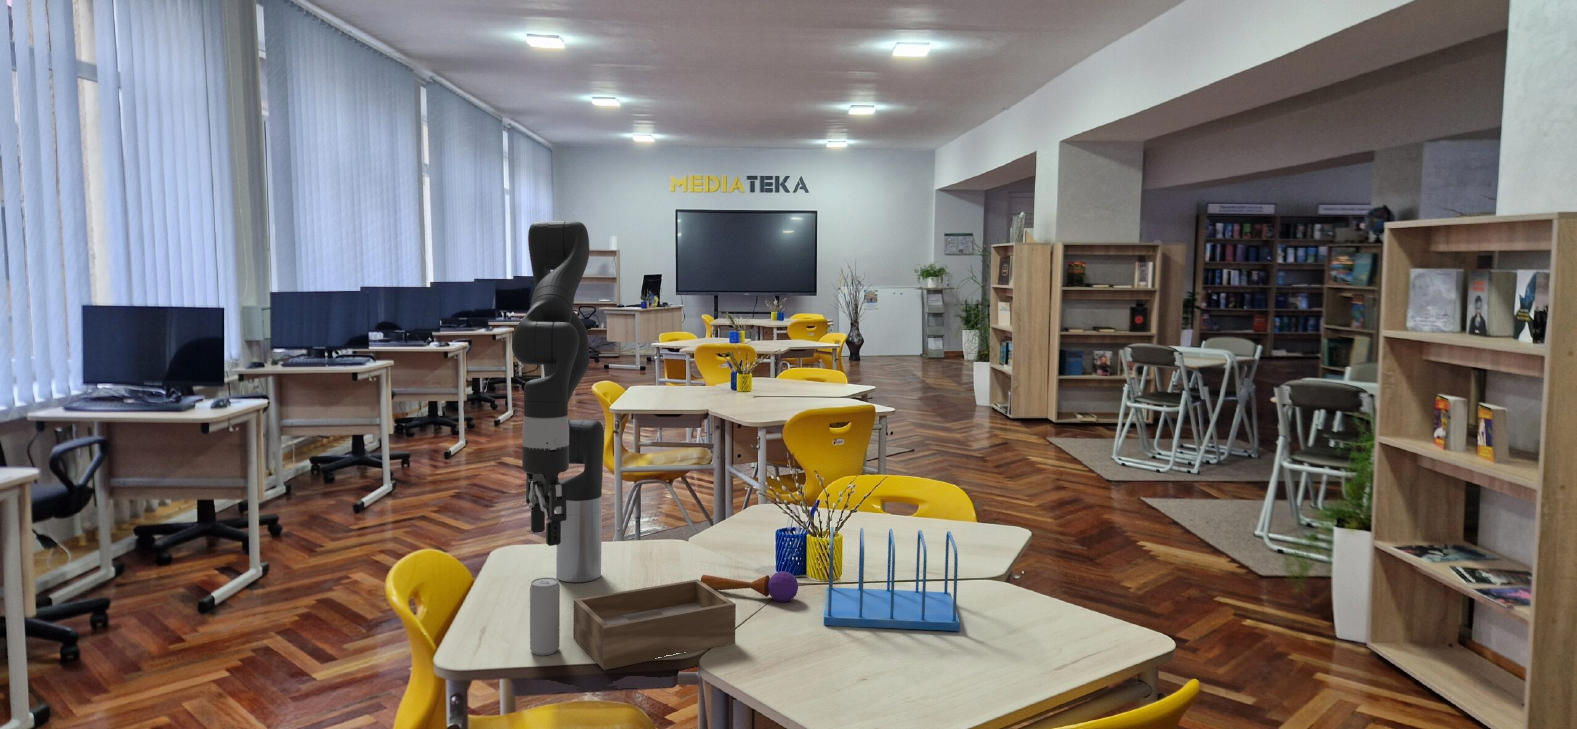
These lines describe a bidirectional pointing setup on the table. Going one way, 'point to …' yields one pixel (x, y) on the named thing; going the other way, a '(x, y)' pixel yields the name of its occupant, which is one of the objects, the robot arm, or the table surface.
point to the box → (653, 623)
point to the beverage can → (544, 616)
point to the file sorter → (893, 597)
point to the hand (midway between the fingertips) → (545, 538)
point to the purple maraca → (759, 585)
